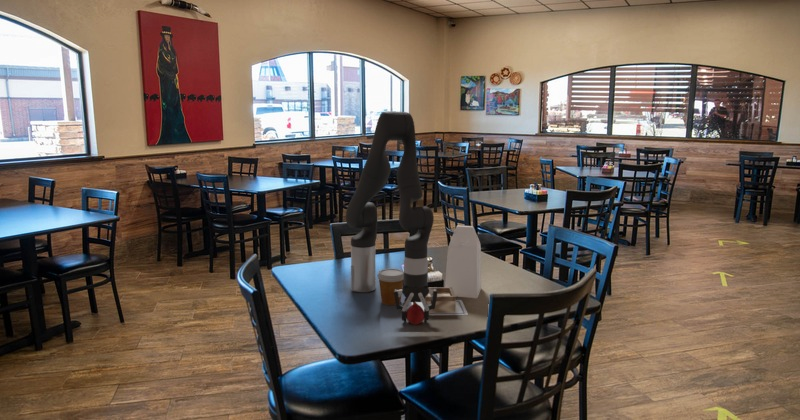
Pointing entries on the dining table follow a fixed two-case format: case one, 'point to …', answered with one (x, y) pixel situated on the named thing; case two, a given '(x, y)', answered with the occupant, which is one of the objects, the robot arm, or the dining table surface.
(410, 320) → the red round fruit
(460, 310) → the board
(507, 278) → the dining table surface
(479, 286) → the milk
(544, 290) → the dining table surface
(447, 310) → the square wooden tray
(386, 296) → the disposable coffee cup
